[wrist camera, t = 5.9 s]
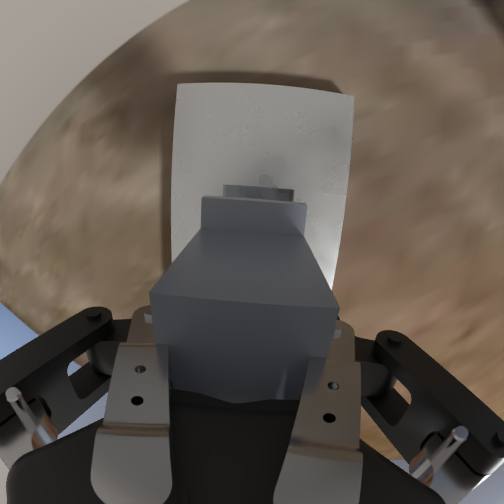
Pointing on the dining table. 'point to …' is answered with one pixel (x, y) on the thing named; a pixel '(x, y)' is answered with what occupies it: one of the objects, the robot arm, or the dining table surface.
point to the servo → (244, 303)
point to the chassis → (262, 156)
